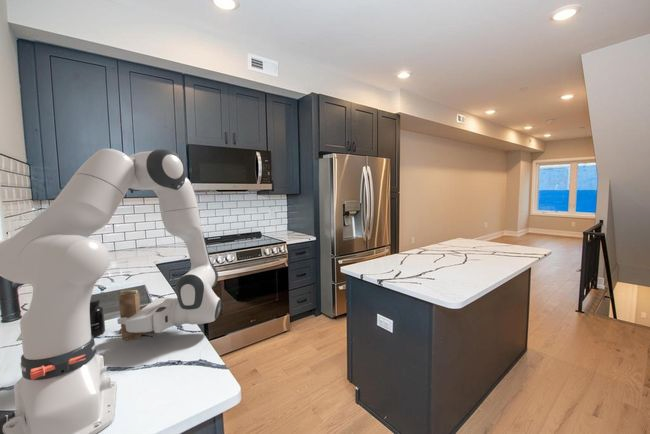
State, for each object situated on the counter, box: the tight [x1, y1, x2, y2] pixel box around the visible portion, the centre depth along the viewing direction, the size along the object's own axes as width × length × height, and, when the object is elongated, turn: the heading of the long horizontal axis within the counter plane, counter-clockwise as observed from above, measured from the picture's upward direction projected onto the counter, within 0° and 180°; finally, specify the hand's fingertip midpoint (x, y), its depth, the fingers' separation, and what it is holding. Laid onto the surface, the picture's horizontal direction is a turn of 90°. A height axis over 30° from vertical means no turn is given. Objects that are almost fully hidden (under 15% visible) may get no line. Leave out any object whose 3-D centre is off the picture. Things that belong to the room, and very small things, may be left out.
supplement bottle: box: [90, 298, 106, 338], centre depth 99 cm, size 7×7×12 cm
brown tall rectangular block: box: [118, 289, 143, 341], centre depth 96 cm, size 5×2×16 cm, turn 95°
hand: (127, 314), depth 96 cm, fingers open, 8 cm apart
